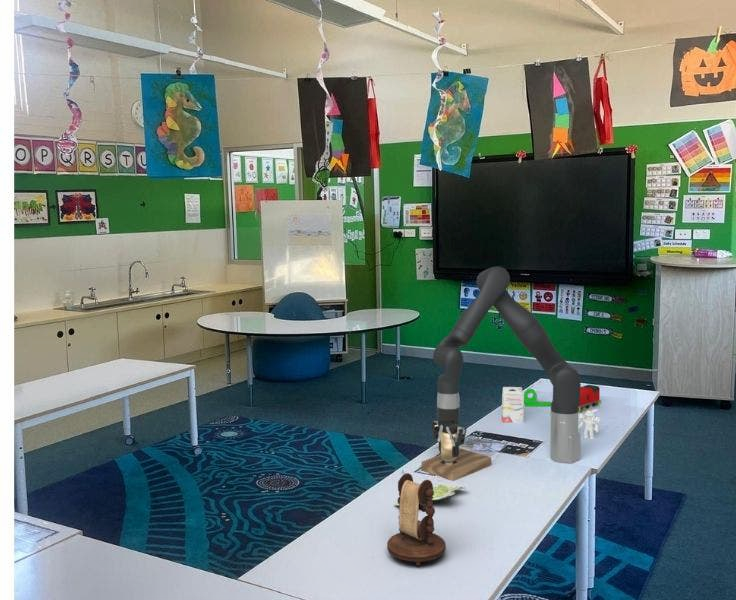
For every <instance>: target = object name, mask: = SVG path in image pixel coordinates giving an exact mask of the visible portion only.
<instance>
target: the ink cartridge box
mask: <svg viewBox="0 0 736 600" xmlns="http://www.w3.org/2000/svg"><path fill="white" fill-rule="evenodd" d="M501 395H502V396H501V421H502V423H524V414H525V413H524V410H525V409H524V407H525V404H524V394H523V388H522V387H521V386H519V387H518V386H517V387H516V386H503V387H502V394H501Z"/></svg>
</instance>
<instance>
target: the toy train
mask: <svg viewBox="0 0 736 600" xmlns="http://www.w3.org/2000/svg"><path fill="white" fill-rule="evenodd" d="M600 393H601V392H600V387H599V386H598V385H593V384H586V385H583V386H581V389H580V404H579V407H578V414H582V412H583V411H586V410H587V411H588V410H589V409H592V408H593V407H598V406H600V405H601V401H602V400H601V399H600V397H601V396H600Z"/></svg>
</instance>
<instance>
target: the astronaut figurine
mask: <svg viewBox="0 0 736 600" xmlns="http://www.w3.org/2000/svg"><path fill="white" fill-rule="evenodd" d="M597 411H598V408H597V409H592V410H589V409H587V411H586V412H585V413H584V414H583V413H578V421H580V424H578V430H580V429H581V428H582V427H583V425H585V427H584V432H583V438H585V439H586V438H589V439H590V440H593V439H595V436H594V431H595V434H598V433H599V424H601V422H602V418H600V417H599V416H595V413H596V412H597ZM598 423H599V424H598Z"/></svg>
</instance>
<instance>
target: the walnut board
mask: <svg viewBox="0 0 736 600" xmlns="http://www.w3.org/2000/svg"><path fill="white" fill-rule="evenodd" d="M491 466H492V457H491V456H488V455H484V454H481V453H477V452H475V451H472V450H467V449H464V448H461V447H459V455H458V456H457V460H456V461H453V465H450V466H449V465H446V464H444V461H442V460H441V454H440V455H436V456H433V457H431V458H427V459H426V460H425V459H424V460H423V461H421V465H420V467H421V471H422V472H425V473H429V474H432V475H434V476H437V477H440V478H442V479H446V480H449V481H451V482H453V481H456V480H460V479H461V478H465V477H467V476H469V475H471V474H474V473H476V472H479V471H481V470H484V469H487V468H489V467H491Z"/></svg>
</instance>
